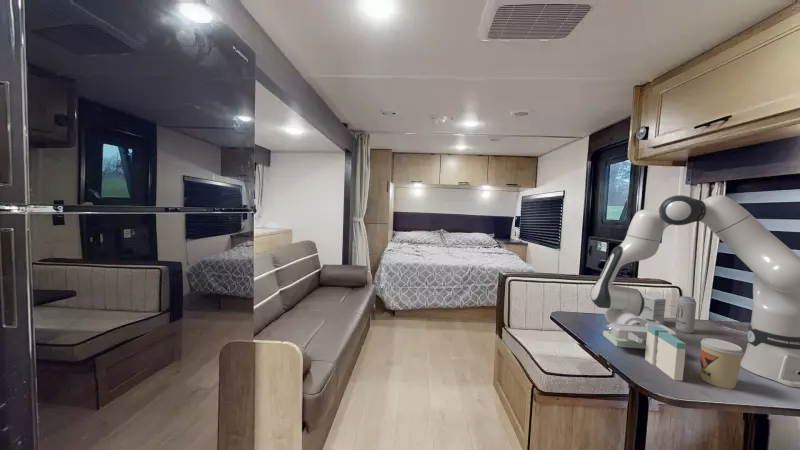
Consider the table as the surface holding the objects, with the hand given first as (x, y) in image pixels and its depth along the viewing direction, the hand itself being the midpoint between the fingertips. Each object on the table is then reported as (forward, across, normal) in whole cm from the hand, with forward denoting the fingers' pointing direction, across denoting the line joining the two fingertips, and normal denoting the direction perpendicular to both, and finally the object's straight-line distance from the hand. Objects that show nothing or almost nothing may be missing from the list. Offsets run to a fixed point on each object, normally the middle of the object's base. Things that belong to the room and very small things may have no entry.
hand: (655, 341), depth 113 cm
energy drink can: (-34, +32, +7) cm, 47 cm away
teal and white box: (+8, 0, +7) cm, 10 cm away
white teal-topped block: (+1, 0, +7) cm, 7 cm away
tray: (-16, -1, +7) cm, 17 cm away
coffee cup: (+11, +12, +7) cm, 18 cm away
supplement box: (-42, +22, +7) cm, 47 cm away
